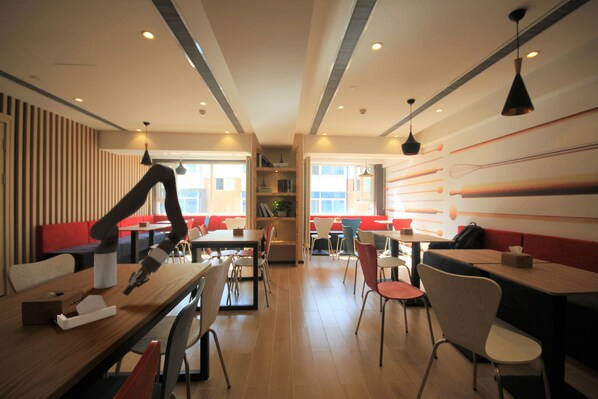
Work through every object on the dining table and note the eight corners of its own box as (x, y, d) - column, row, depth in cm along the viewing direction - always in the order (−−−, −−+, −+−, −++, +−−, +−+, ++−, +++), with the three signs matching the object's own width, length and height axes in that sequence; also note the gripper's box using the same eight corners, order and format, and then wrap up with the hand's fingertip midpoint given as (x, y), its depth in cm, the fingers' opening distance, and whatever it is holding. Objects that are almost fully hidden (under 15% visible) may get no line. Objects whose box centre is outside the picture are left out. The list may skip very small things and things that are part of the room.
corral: (51, 317, 96) (51, 309, 96) (100, 304, 108) (100, 297, 108) (63, 330, 86) (63, 321, 86) (116, 314, 98) (116, 306, 98)
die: (112, 314, 99) (107, 291, 102) (100, 311, 91) (95, 287, 95) (87, 326, 96) (83, 302, 99) (73, 324, 88) (69, 298, 92)
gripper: (142, 253, 120) (111, 286, 109) (155, 256, 112) (123, 293, 102) (154, 262, 124) (125, 295, 114) (168, 266, 116) (138, 302, 106)
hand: (124, 294), depth 108 cm, fingers closed
